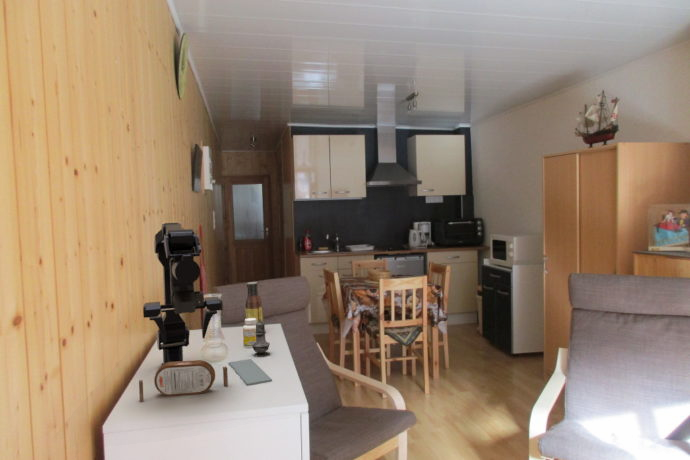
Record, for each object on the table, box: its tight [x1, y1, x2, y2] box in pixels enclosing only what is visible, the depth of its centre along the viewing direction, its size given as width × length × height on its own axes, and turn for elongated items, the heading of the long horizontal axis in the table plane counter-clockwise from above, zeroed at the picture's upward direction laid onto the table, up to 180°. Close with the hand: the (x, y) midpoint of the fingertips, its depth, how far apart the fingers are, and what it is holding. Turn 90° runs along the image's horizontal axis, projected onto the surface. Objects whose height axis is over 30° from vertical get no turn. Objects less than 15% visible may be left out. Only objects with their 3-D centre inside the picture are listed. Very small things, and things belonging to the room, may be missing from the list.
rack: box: [138, 366, 229, 403], centre depth 127 cm, size 2×22×5 cm, turn 116°
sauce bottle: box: [245, 281, 264, 323], centre depth 188 cm, size 6×6×20 cm
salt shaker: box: [252, 319, 271, 358], centre depth 160 cm, size 6×6×12 cm
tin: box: [153, 359, 216, 397], centre depth 127 cm, size 15×3×8 cm, turn 98°
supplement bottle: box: [242, 318, 257, 349], centre depth 171 cm, size 5×5×10 cm
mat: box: [228, 358, 273, 387], centre depth 143 cm, size 22×7×1 cm, turn 26°
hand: (184, 340), depth 124 cm, fingers open, 9 cm apart
